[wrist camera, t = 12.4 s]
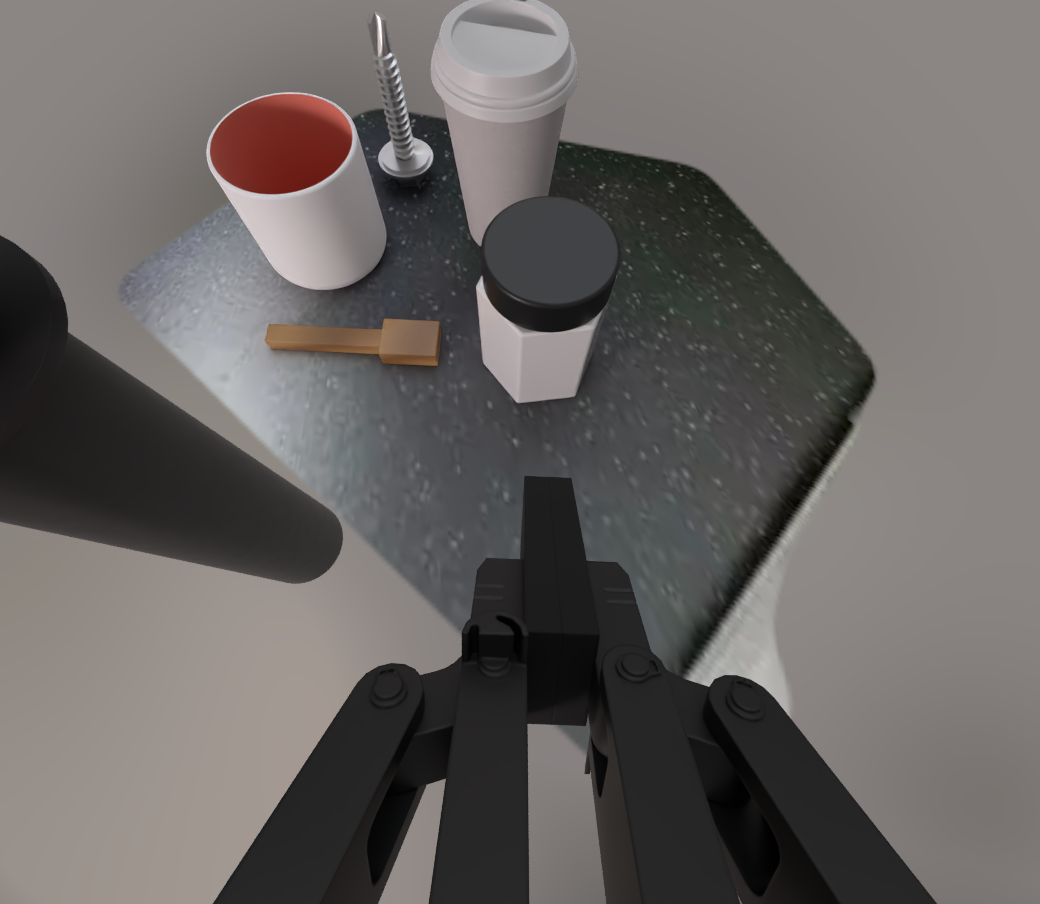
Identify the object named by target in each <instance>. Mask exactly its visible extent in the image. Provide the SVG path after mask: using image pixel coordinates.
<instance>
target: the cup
mask: <svg viewBox="0 0 1040 904" xmlns="http://www.w3.org/2000/svg"><path fill="white" fill-rule="evenodd" d="M207 161H208V165H209V167H210V170H211V172H212V174H213V175H214V177H215V178H216V180H217V181H218V183H219V184H220V186H221V188H222V189H223V191H224V192H225V194H226V195H227V197H228V198H229V200H230V201H231V203H232V205H233V206H234V208H235V209H236V211H237V212H238V214H239V215H240V217H241V219H242V220H243V222H244V223H245V225H246V226H247V228H248V229H249V231H250V232H251V234H252V236H253V237H254V239H255V240H256V242H257V243H258V245H259V246H260V248H261V249H262V251H263V252H264V254H265V256H266V257H267V259H268V260H269V262H270V263H271V265H272V266H273V267H274V269H275V270H276V271H277V272H278V273H279V274H280V275H281V276H283V277H284V278H285V279H287V280H288V281H290V282H292V283H294V284H296V285H299V286H301V287H305V288H309V289H315V290H331V289H338V288H342V287H346V286H348V285H351V284H353V283H355V282H357V281H359V280H361V279H362V278H364V277H365V276H366V275H368V274H369V273H370V272H371V271H372V270H373V269H374V268H375V267H376V265H377V264H378V263H379V261H380V259H381V257H382V255H383V252H384V250H385V246H386V227H385V223H384V220H383V217H382V213H381V210H380V207H379V203H378V200H377V197H376V193H375V190H374V187H373V184H372V180H371V177H370V174H369V170H368V167H367V164H366V160H365V157H364V154H363V150H362V147H361V144H360V141H359V137H358V134H357V131H356V127H355V125H354V123H353V121H352V119H351V118H350V117H349V115H348V114H347V113H346V112H345V111H344V110H343V109H342V108H340V107H339V106H338V105H336V104H335V103H333V102H331V101H329V100H327V99H325V98H322V97H319V96H316V95H312V94H307V93H298V92H284V93H275V94H270V95H265V96H261V97H258V98H255V99H252V100H250V101H248V102H246V103H243V104H241V105H240V106H238V107H236V108H235V109H233V110H232V111H231V112H229V113H228V114H227V115H225V117H224V118H222V119H221V121H220V122H219V123H218V124H217V125H216V127H215V128H214V130H213V131H212V133H211V135H210V138H209V141H208V144H207Z"/></svg>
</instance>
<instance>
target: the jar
mask: <svg viewBox="0 0 1040 904" xmlns="http://www.w3.org/2000/svg"><path fill="white" fill-rule="evenodd" d="M620 259H621V252H620V245H619V241H618V238H617V236H616V234H615V232H614V230H613V228H612V227H611V225H610V224H609V223H608V222H607V221H606V219H605V218H604V217H603V216H601V215H600V214H599V213H598V212H597V211H595V210H594V209H592V208H591V207H589V206H587V205H585V204H583V203H580V202H578V201H575V200H572V199H568V198H563V197H556V196H540V197H533V198H528V199H524V200H521V201H518V202H516V203H514V204H512V205H510V206H508V207H507V208H505V209H504V210H502V211H501V212H500V213H499V214H497V215H496V216H495V217H494V219H493V220H492V221H491V222H490V224H489V225H488V227H487V228H486V230H485V233H484V235H483V238H482V243H481V263H482V276H481V278H480V280H479V282H478V283H477V286H476V291H477V302H478V313H479V324H480V335H481V346H482V357H483V363H484V365H485V366H486V367H487V368H488V369H489V371H490V372H491V373H492V374H493V375H494V376H495V378H496V379H497V380H498V381H499V382H500V383H501V385H502V386H503V387H504V388H505V389H506V391H507V392H508V393H509V394H510V395H511V396H512V398H513V399H514V400H515V401H516V402H517V403H525V402H534V401H543V400H551V399H560V398H569V397H574V396H575V395H576V393H577V391H578V389H579V386H580V384H581V381H582V379H583V376H584V374H585V371H586V369H587V367H588V364H589V362H590V359H591V357H592V354H593V352H594V349H595V346H596V342H597V339H598V336H599V333H600V329H601V326H602V323H603V320H604V316H605V313H606V310H607V307H608V304H609V300H610V297H611V294H612V291H613V287H614V284H615V281H616V278H617V273H618V270H619V266H620Z"/></svg>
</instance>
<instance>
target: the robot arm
mask: <svg viewBox="0 0 1040 904" xmlns="http://www.w3.org/2000/svg"><path fill="white" fill-rule="evenodd" d="M588 715H589V723H590V731H591V733H590V739H589V745H588V751H587V757H586V764H585V774H590V770H591V778H592V786H593V795H594V803H595V811H596V820H597V828H598V836H599V845H600V852H601V853H600V854H601V862H602V870H603V878H604V887H605V896H606V904H740V902H739V899H738V896H739V898H740V900H741V902H742V904H937V903H936V902H935V901H934V899H933V898H932V897H931V896H930V894H929V893H928V892H927V891H926V889H925V888H924V887H923V885H922V884H921V883H920V882H919V880H918V879H917V878H916V877H915V875H914V874H913V873H912V872H911V870H910V869H909V868H908V867H907V865H906V864H905V863H904V861H903V860H902V859H901V858H900V856H899V855H898V854H897V853H896V851H895V850H894V849H893V848H892V846H891V845H890V844H889V842H888V841H887V840H886V839H885V837H884V836H883V835H882V834H881V832H880V831H879V830H878V829H877V827H876V826H875V825H874V823H873V822H872V821H871V820H870V819H869V817H868V816H867V815H866V813H865V812H864V811H863V810H862V808H861V807H860V806H859V805H858V803H857V802H856V801H855V800H854V798H853V797H852V796H851V795H850V793H849V792H848V791H847V790H846V788H845V787H844V786H843V784H842V783H841V782H840V781H839V779H838V778H837V777H836V775H835V774H834V773H833V772H832V770H831V769H830V768H829V767H828V765H827V764H826V763H825V762H824V760H823V759H822V758H821V757H820V756H819V754H818V753H817V751H816V750H815V749H814V748H813V746H812V745H811V744H810V743H809V741H808V740H807V739H806V738H805V736H804V735H803V734H802V732H801V731H800V730H799V729H798V727H797V726H796V725H795V724H794V722H793V721H792V720H791V719H790V717H789V716H788V715H787V713H786V712H785V711H784V710H783V708H782V707H781V706H780V705H779V703H778V702H777V701H776V700H775V698H774V697H773V696H772V695H771V694H770V693H769V692H768V691H767V690H766V689H765V688H764V687H762V686H760V685H759V684H757V683H755V682H754V681H752V680H750V679H747V678H744V677H740V676H737V675H724V676H721V677H719V678H717V679H715V680H714V681H713V682H712V684H711V685H710V687H708V686H704V685H701V684H698V683H695V682H692V681H689V680H686V679H683V678H681V677H678V676H676V675H674V674H673V673H671V672H669V671H668V670H666V669H665V667H664V665H663V663H662V661H661V660H660V659H659V658H658V657H657V656H656V655H654V654H653V653H652V651H651V649H650V646H649V643H648V640H647V636H646V633H645V630H644V626H643V623H642V619H641V616H640V613H639V609H638V606H637V604H636V599H635V596H634V592H633V589H632V586H631V582H630V579H629V576H628V574H627V573H626V572H625V571H624V570H623V569H622V567H621V566H620V565H619V564H618V563H617V562H597V561H586V555H585V550H584V544H583V539H582V533H581V528H580V523H579V517H578V512H577V506H576V501H575V496H574V490H573V485H572V479H571V478H558V477H536V476H525V478H524V495H523V513H522V530H521V554H520V559H497V558H486V560H485V561H484V562H483V563H482V565H481V566H480V567H479V569H478V570H477V576H476V583H475V591H474V599H473V605H472V613H471V619H470V620H469V621H467V622H466V624H465V626H464V628H463V631H462V656H461V657H460V658H459V659H458V660H457V661H456V662H455V663H453V664H451V665H450V666H448V667H446V668H444V669H441V670H438V671H435V672H431V673H428V674H423V675H419V673H418V672H417V671H416V670H415V669H414V668H412V667H409V666H407V665H405V664H396V663H390V664H386V665H382V666H378V667H377V668H375V669H373V670H371V671H370V672H368V673H366V674H365V675H364V677H363V678H362V679H361V680H360V681H359V682H358V683H357V684H356V686H355V687H354V689H353V690H352V692H351V694H350V695H349V697H348V698H347V700H346V701H345V703H344V704H343V706H342V707H341V709H340V711H339V712H338V713H337V715H336V717H335V718H334V719H333V721H332V723H331V724H330V726H329V727H328V729H327V730H326V732H325V733H324V735H323V736H322V738H321V739H320V741H319V742H318V744H317V745H316V747H315V749H314V750H313V752H312V753H311V755H310V756H309V758H308V759H307V761H306V762H305V764H304V765H303V767H302V768H301V770H300V772H299V773H298V774H297V776H296V778H295V779H294V781H293V782H292V784H291V785H290V787H289V788H288V790H287V791H286V793H285V794H284V796H283V797H282V799H281V800H280V802H279V803H278V805H277V807H276V808H275V810H274V811H273V813H272V814H271V816H270V817H269V819H268V820H267V822H266V823H265V825H264V826H263V828H262V830H261V831H260V833H259V834H258V836H257V837H256V839H255V840H254V842H253V843H252V845H251V846H250V848H249V849H248V851H247V852H246V854H245V856H244V857H243V859H242V860H241V862H240V863H239V865H238V866H237V868H236V869H235V871H234V872H233V874H232V875H231V877H230V878H229V880H228V881H227V883H226V885H225V886H224V888H223V889H222V891H221V892H220V894H219V895H218V897H217V898H216V900H215V901H214V903H213V904H378V902H379V900H380V897H381V895H382V893H383V890H384V888H385V885H386V883H387V880H388V878H389V875H390V873H391V870H392V868H393V866H394V863H395V861H396V858H397V856H398V853H399V851H400V849H401V846H402V844H403V841H404V839H405V836H406V834H407V831H408V829H409V826H410V824H411V822H412V819H413V817H414V814H415V812H416V809H417V807H418V805H419V802H420V799H421V797H422V794H423V792H424V790H425V787H426V785H427V784H430V783H433V782H436V781H440V780H442V779H446V782H445V789H444V797H443V804H442V812H441V818H440V826H439V833H438V840H437V847H436V855H435V862H434V869H433V876H432V884H431V891H430V898H429V904H529V845H528V844H529V843H528V842H529V839H528V740H527V739H528V738H527V737H528V735H527V724H549V725H575V726H586V722H587V716H588ZM736 892H737V893H736ZM737 894H738V896H737Z"/></svg>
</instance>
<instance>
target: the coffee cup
mask: <svg viewBox="0 0 1040 904" xmlns="http://www.w3.org/2000/svg"><path fill="white" fill-rule="evenodd" d="M431 79H432V82H433V85H434V87H435V89H436V91H437V93H438V94H439V95H440V97H441V98H442V99H443V102H444V107H445V111H446V117H447V121H448V126H449V131H450V136H451V141H452V145H453V150H454V155H455V160H456V165H457V170H458V175H459V180H460V185H461V190H462V195H463V200H464V205H465V210H466V215H467V220H468V224H469V229H470V233H471V235H472V237H473V239H474V240H475V242H476V243H477V244H478V245H480V246H481V243H482V238H483V235H484V233H485V230H486V228H487V227H488V225H489V224H490V222H491V221H492V220H493V219H494V217H495V216H496V215H497V214H499V213H500V212H501V211H502V210H504V209H505V208H507V207H508V206H510V205H512V204H514V203H516V202H518V201H521V200H524V199H528V198H533V197H540V196H548V193H549V188H550V183H551V177H552V172H553V167H554V162H555V157H556V152H557V147H558V142H559V136H560V131H561V127H562V122H563V117H564V112H565V106H566V102H567V100H568V99H569V98H570V97H571V95H572V94H573V92H574V90H575V88H576V86H577V82H578V64H577V58H576V54H575V50H574V47H573V45H572V43H571V41H570V37H569V32H568V28H567V26H566V24H565V22H564V20H563V19H562V18H561V16H560V15H559V14H558V13H557V12H555V11H554V10H553V9H552V8H550V7H549V6H547V5H545V4H543V3H541V2H539V1H537V0H468V1H466V2H464V3H462V4H460V5H459V6H457V7H456V8H454V9H453V10H452V11H451V12H450V13H449V14H448V15H447V16H446V18H445V19H444V21H443V23H442V25H441V28H440V34H439V38H438V40H437V42H436V44H435V47H434V52H433V55H432V62H431Z"/></svg>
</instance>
